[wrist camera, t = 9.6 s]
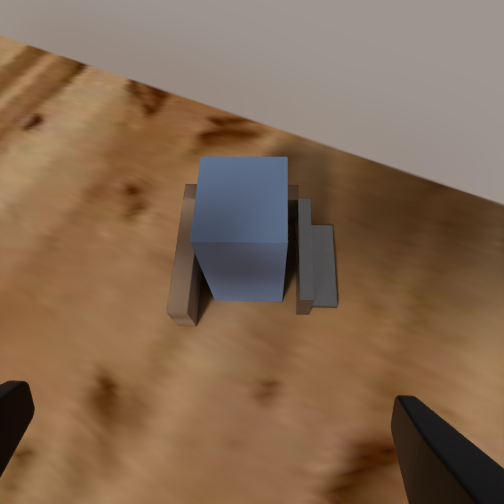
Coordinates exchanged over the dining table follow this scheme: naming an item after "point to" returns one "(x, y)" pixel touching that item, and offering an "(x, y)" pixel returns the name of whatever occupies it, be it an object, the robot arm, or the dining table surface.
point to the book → (242, 226)
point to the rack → (187, 266)
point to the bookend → (313, 262)
